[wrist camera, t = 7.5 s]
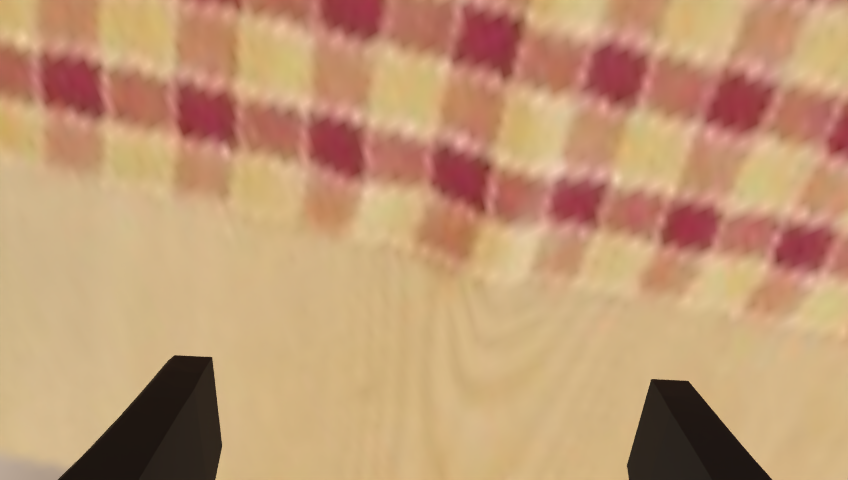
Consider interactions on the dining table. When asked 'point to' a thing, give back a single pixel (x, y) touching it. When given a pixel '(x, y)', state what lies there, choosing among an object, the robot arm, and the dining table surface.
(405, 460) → the dining table surface
